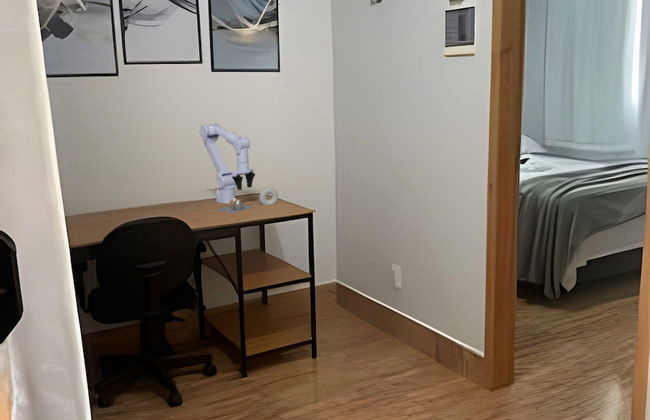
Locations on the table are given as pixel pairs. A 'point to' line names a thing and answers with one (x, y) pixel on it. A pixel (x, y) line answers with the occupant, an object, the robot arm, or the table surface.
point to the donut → (265, 192)
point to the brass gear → (234, 202)
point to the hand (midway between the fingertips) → (244, 188)
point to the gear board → (228, 209)
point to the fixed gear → (237, 206)
